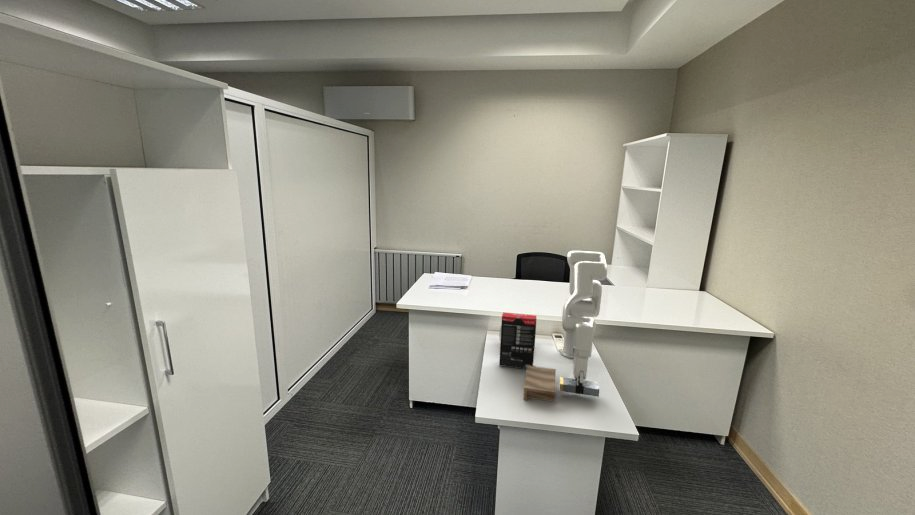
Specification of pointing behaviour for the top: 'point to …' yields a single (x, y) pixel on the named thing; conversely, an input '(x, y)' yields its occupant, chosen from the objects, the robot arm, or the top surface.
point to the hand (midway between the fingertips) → (578, 388)
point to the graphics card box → (517, 340)
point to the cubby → (540, 383)
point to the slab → (570, 386)
